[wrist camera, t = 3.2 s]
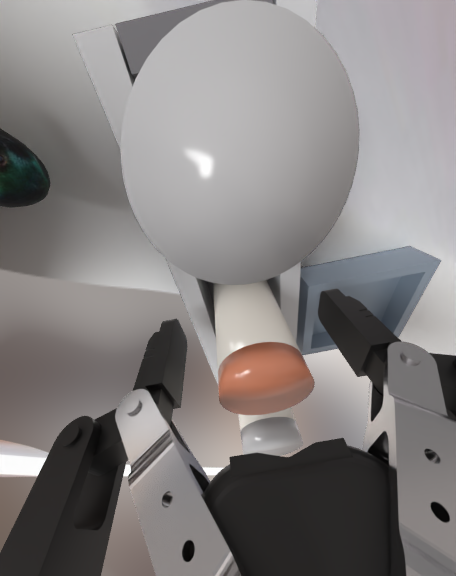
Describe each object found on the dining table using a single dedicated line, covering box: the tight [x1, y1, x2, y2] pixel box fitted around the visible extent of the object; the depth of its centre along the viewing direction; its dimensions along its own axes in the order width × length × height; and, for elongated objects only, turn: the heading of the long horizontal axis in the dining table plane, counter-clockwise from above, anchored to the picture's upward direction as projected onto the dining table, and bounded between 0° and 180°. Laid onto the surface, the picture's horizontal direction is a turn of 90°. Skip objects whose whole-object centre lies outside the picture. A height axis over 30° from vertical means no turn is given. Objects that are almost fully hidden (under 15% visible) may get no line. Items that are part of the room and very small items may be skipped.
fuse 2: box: [238, 407, 303, 456], centre depth 15 cm, size 4×4×9 cm
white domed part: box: [121, 0, 359, 285], centre depth 7 cm, size 4×4×9 cm
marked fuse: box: [213, 280, 314, 415], centre depth 11 cm, size 4×4×9 cm
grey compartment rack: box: [72, 0, 317, 384], centre depth 14 cm, size 8×23×4 cm, turn 10°
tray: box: [296, 246, 441, 355], centre depth 18 cm, size 10×9×3 cm
